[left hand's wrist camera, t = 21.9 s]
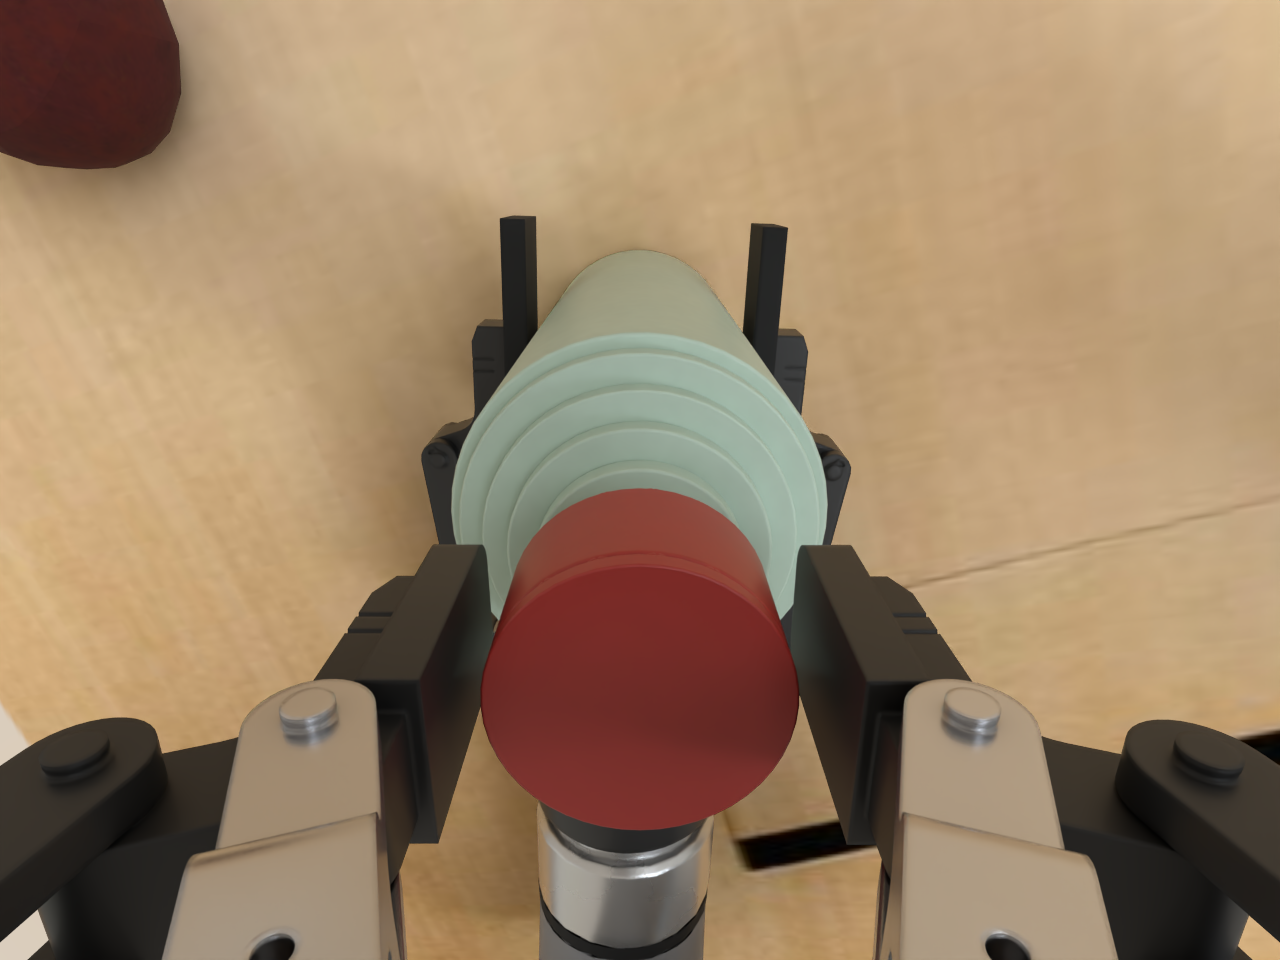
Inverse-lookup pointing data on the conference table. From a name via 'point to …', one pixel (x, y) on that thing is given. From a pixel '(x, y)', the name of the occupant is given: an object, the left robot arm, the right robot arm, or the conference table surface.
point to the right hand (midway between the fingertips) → (643, 222)
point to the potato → (86, 80)
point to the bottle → (640, 422)
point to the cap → (639, 664)
